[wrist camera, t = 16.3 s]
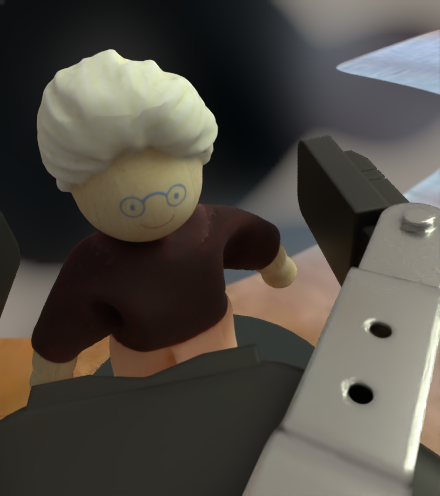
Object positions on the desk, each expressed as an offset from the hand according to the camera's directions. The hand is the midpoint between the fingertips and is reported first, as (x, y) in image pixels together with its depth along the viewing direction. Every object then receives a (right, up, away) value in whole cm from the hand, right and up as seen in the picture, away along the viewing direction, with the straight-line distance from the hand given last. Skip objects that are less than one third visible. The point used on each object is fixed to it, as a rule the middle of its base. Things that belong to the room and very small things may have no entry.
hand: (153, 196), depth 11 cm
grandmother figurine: (+1, -8, +4) cm, 9 cm away
